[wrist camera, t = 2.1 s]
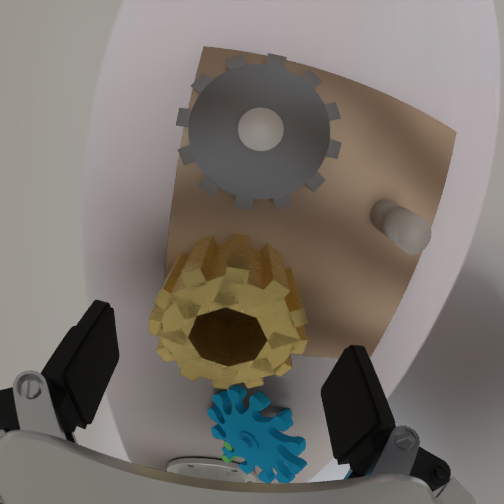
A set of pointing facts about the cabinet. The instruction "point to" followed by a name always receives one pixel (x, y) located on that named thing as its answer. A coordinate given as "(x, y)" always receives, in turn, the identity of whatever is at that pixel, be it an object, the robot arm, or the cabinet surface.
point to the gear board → (310, 186)
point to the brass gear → (221, 328)
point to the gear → (256, 435)
